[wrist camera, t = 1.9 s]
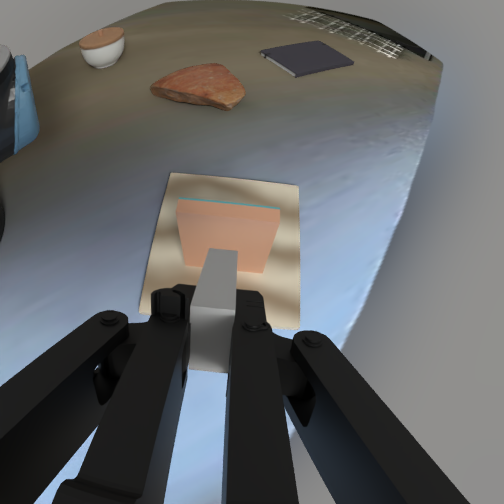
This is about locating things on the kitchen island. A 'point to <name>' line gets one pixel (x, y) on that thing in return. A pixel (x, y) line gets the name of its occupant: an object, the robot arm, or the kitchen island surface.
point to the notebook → (306, 58)
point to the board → (267, 284)
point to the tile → (227, 231)
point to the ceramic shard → (201, 86)
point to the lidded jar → (103, 47)
